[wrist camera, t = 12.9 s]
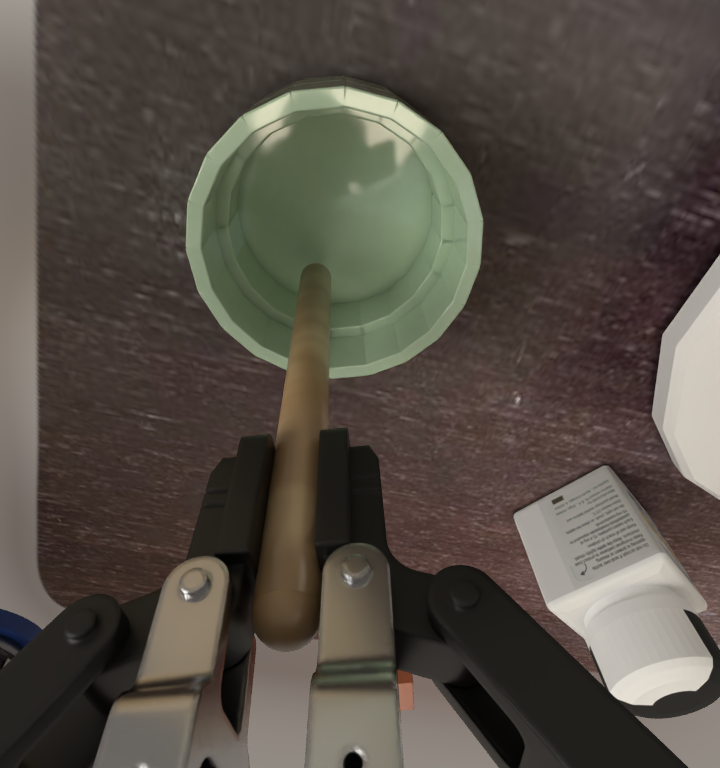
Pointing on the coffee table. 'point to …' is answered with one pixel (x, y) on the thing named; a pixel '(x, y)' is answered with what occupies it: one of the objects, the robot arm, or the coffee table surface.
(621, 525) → the container
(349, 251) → the bowl
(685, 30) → the coffee table surface
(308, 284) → the cooking stick
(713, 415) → the decorative plate
